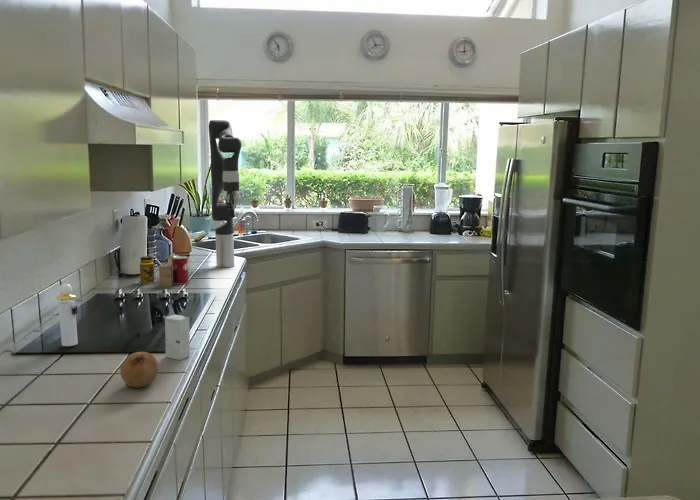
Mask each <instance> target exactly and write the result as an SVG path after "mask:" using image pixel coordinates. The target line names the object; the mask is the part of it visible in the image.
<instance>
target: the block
mask: <svg viewBox="0 0 700 500" xmlns="http://www.w3.org/2000/svg"><path fill="white" fill-rule="evenodd" d="M158 272H159V273H158V275H159V277H158V278H159V287H160V288H166V287H168V288H169V287H172V286H173V284H174V283H173V280H172V265H168V264H161V265H160V264H159V267H158Z"/></svg>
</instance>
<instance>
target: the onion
mask: <svg viewBox="0 0 700 500" xmlns="http://www.w3.org/2000/svg"><path fill="white" fill-rule="evenodd" d="M119 369H120V370H119V374H120V377H121V380H123V382H124V383H125V386H127V387H131V388H135V389H136V388H137V389H140V388H145V387H148V386H149V385H150V384H151V383H153V382H154V381H155V379H156V378H157V376H158V373H159V363H158V360H157V358H156V357H155V356H154V355H153V354H152V353H150V352H147V351H136V352H133V353H131V354H129V355H128V356H127V357H126V358H124V360H123V361H122V363H121V365H120V368H119Z"/></svg>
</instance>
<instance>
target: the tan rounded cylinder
mask: <svg viewBox="0 0 700 500" xmlns="http://www.w3.org/2000/svg"><path fill="white" fill-rule="evenodd" d="M175 256H180V255H179V254H171V255H169V257H168V258H167V263H168V264H167V265H172V260H171V259H172V257H175Z"/></svg>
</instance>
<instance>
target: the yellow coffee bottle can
mask: <svg viewBox="0 0 700 500" xmlns="http://www.w3.org/2000/svg"><path fill="white" fill-rule="evenodd" d="M139 271H140V272H139V273H140V280H138V281H136V282H135V284H143V285H144V284H145V285H152V284H153V283H156V282H157V281H158V280H157V279H156V280H155V265H154V262H153V256H151V255H146V256H145V255H143V256H141V257H140V263H139ZM158 282H159V281H158Z"/></svg>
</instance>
